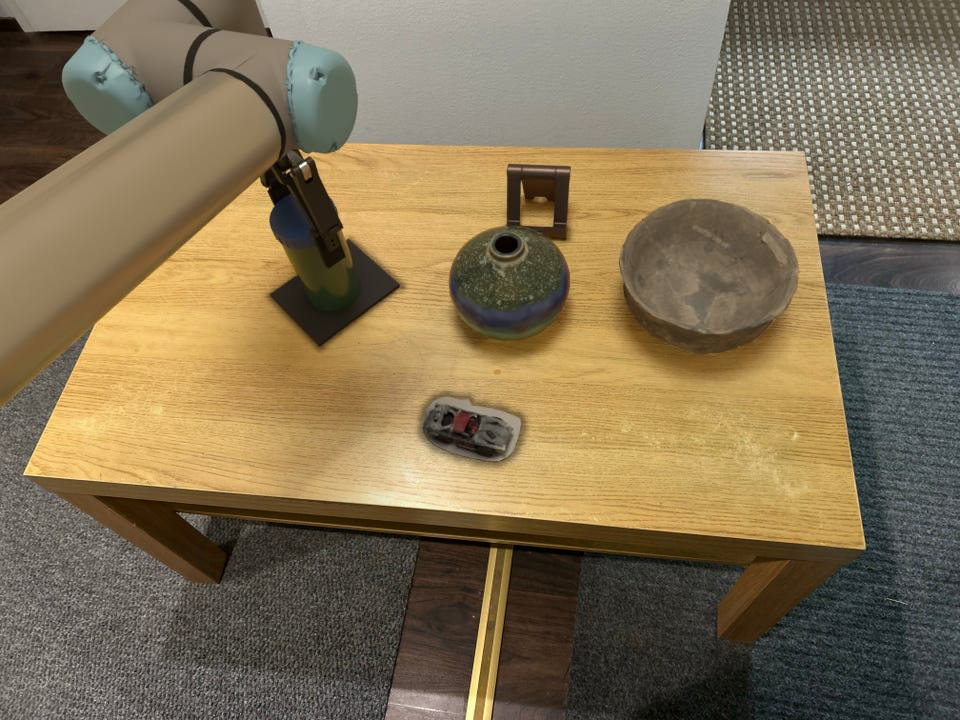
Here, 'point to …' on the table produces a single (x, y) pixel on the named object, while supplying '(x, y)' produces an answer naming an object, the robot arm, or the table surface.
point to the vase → (509, 283)
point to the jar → (326, 277)
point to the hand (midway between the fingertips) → (314, 241)
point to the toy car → (471, 429)
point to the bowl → (707, 275)
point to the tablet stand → (539, 193)
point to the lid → (291, 224)
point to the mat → (332, 322)
